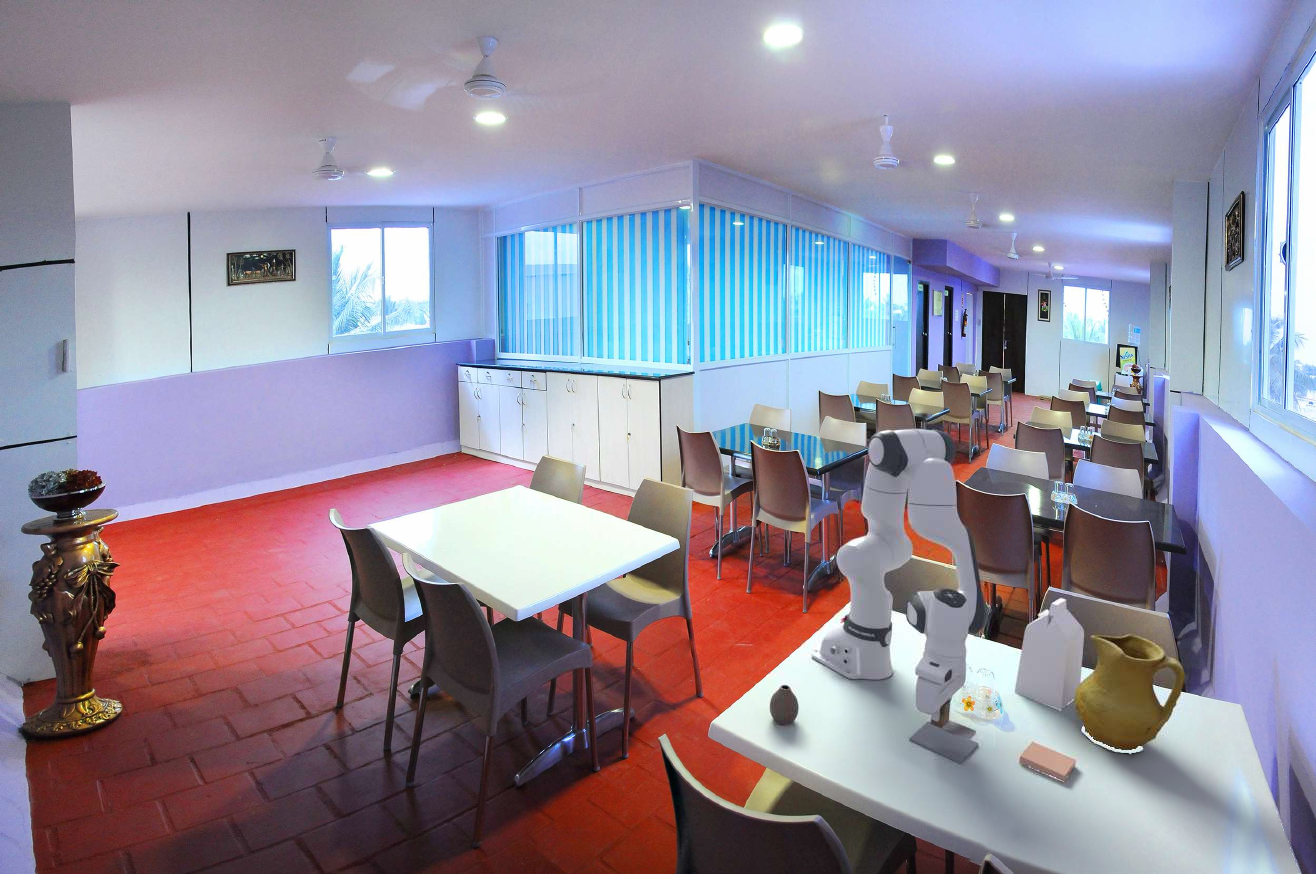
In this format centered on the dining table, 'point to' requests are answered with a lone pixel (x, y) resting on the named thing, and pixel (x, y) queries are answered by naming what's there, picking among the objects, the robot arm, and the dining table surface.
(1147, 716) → the pitcher
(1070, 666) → the milk
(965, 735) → the brown block
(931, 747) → the pad
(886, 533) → the robot arm
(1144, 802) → the dining table surface
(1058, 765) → the tile
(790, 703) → the vase
